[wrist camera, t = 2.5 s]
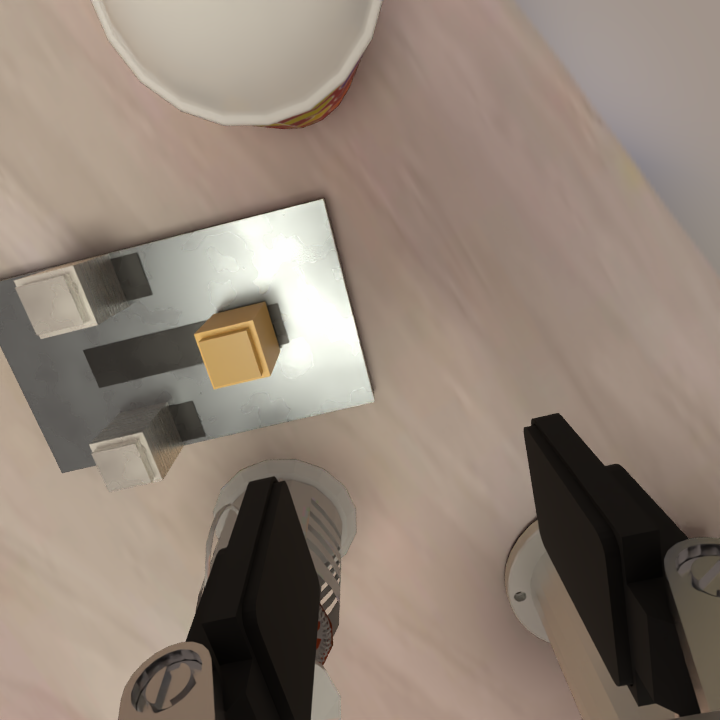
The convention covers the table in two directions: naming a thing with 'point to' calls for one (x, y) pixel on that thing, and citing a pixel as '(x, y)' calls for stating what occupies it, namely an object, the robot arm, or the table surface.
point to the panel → (180, 341)
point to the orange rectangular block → (238, 345)
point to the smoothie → (243, 54)
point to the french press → (325, 542)
